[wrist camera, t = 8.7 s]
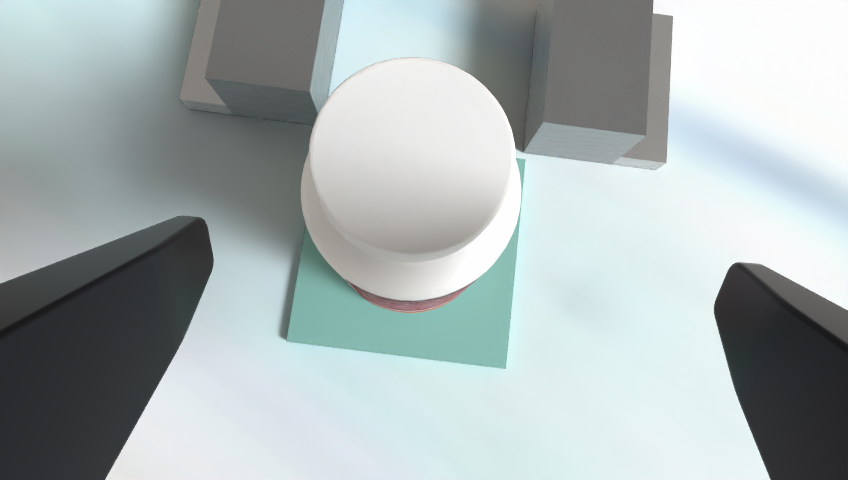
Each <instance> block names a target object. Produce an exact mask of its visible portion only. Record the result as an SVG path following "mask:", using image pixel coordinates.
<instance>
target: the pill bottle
mask: <svg viewBox="0 0 848 480" xmlns="http://www.w3.org/2000/svg"><path fill="white" fill-rule="evenodd" d="M520 203H521V181H520V173H519V169H518V164H517V161H516V153H515V143H514V138H513V133H512V129H511V127H510V124H509V122H508V119H507V116H506V114H505V113H504V111H503V109H502V107H501V106H500V104H499V103H498V101H497V100H496V98H495V97H494V96H493V95H492V94H491V92H490V91H489V90H488V89H487V88H486V87H485V86H484V85H483V84H482V83H481V82H479V81H478V80H477V79H476V78H474V77H473V76H471V75H470V74H468V73H467V72H465V71H463V70H461V69H459V68H457V67H455V66H453V65H450V64H447V63H444V62H441V61H437V60H433V59H428V58H418V57H404V58H395V59H390V60H385V61H382V62H379V63H375V64H372V65H370V66H368V67H366V68H363V69H362V70H360V71H358V72H357V73H355V74H353V75H352V76H350V77H349V78H348V79H346V80H345V81H344V82H343V83H341V84H340V85H339V86H338V87H337V88H336V89H335V90H334V91H333V93H332V94H331V95H330V96H329V98H328V99H327V100H326V102H325V103H324V105H323V106H322V108H321V110H320V112H319V114H318V116H317V118H316V121H315V124H314V126H313V129H312V133H311V137H310V143H309V152H308V155H307V158H306V161H305V165H304V168H303V173H302V179H301V204H302V211H303V216H304V219H305V223H306V226H307V229H308V231H309V233H310V236H311V238H312V240H313V242H314V244H315V245H316V247H317V249H318V250H319V252H320V253H321V255H322V256H323V257H324V258H325V260H326V261H327V262H328V264H329V265H330V266H331V267H332V268H333V269H334V270H335V271H336V272H337V273H338V274H339V275H340V276H341V277H342V278H343V279H344V280H345V281H346V282H347V283H348V284H349V285H350V286H351V287H352V288H353V289H354V290H355V291H356V292H357V293H359V294H360V295H361V296H362V297H363V298H364V299H366V300H367V301H369V302H370V303H372V304H374V305H376V306H378V307H381V308H384V309H387V310H391V311H395V312H401V313H418V312H425V311H429V310H433V309H436V308H439V307H441V306H443V305H445V304H447V303H449V302H450V301H452V300H453V299H455V298H456V297H457V296H459V295H460V294H461V293H462V292H463V291H464V290H465V289H466V288H468V287H469V286H470V285H471V284H472V283H474V282H475V281H476V280H477V279H478V278H479V277H480V276H482V275H483V274H484V273H485V272H486V271H487V270H488V269H489V268H490V267H491V266H492V265H493V264H494V263H495V261H496V260H497V259H498V257H499V256H500V255H501V253H502V252H503V250H504V249H505V247H506V246H507V244H508V242H509V240H510V238H511V236H512V234H513V231H514V229H515V226H516V224H517V220H518V216H519V212H520Z"/></svg>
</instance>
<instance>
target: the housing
mask: <svg viewBox="0 0 848 480" xmlns="http://www.w3.org/2000/svg"><path fill="white" fill-rule="evenodd" d="M343 3H344V0H200V5H199V9H198V14H197V19H196V23H195V28H194V32H193V37H192V41H191V46H190V51H189V55H188V60H187V64H186V69H185V74H184V78H183V83H182V87H181V92H180V97H179V100H180V101H181V102H182V103H183V104H184V105H185V106H186V107H187V108H188V109H193V110H201V111H208V112H216V113H224V114H231V115H239V116H247V117H254V118H262V119H270V120H277V121H285V122H292V123H300V124H308V125H314V124H315V121H316V118H317V116H318V114H319V112H320V110H321V108H322V106H323V105H324V103H325V102H326V100H327V99H328V93H329V87H330V81H331V75H332V69H333V63H334V57H335V51H336V45H337V39H338V33H339V27H340V21H341V15H342V9H343ZM672 25H673V16H668V15H661V14H654V13H653V0H541V2H540V5H539V7H538V9H537V13H536V24H535V34H534V45H533V56H532V66H531V77H530V87H529V98H528V108H527V119H526V130H525V140H524V151H523V153H529V154H537V155H545V156H552V157H560V158H568V159H575V160H583V161H591V162H598V163H606V164H613V165H621V166H629V167H636V168H644V169H652V170H656V169H658V168H659V167H661V166H662V165H664V164H666V158H667V136H668V114H669V92H670V69H671V47H672Z"/></svg>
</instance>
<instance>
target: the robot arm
mask: <svg viewBox="0 0 848 480" xmlns="http://www.w3.org/2000/svg"><path fill="white" fill-rule="evenodd" d="M213 262H214V261H213V252H212V247H211V242H210V237H209V232H208V227H207V224H206V222H205V220H203V219H202V218H200V217H191V216H177V217H175V218H172V219H169V220H167V221H164V222H161V223H159V224H156V225H154V226H151V227H148V228H146V229H143V230H140V231H138V232H135V233H133V234H130V235H127V236H125V237H122V238H119V239H117V240H114V241H112V242H109V243H106V244H104V245H101V246H98V247H96V248H93V249H90V250H88V251H85V252H83V253H80V254H77V255H75V256H72V257H69V258H67V259H64V260H62V261H59V262H56V263H54V264H51V265H48V266H46V267H43V268H40V269H38V270H35V271H33V272H30V273H27V274H25V275H22V276H19V277H17V278H14V279H12V280H9V281H6V282H4V283H1V284H0V480H105V479H106V477H107V475H108V473H109V472H110V470H111V468H112V466H113V465H114V463H115V461H116V459H117V457H118V456H119V454H120V452H121V450H122V448H123V447H124V445H125V443H126V441H127V440H128V438H129V436H130V434H131V432H132V431H133V429H134V427H135V425H136V423H137V422H138V420H139V418H140V416H141V415H142V413H143V411H144V409H145V407H146V406H147V404H148V402H149V400H150V398H151V397H152V395H153V393H154V391H155V390H156V388H157V386H158V384H159V382H160V381H161V379H162V377H163V375H164V373H165V372H166V370H167V368H168V366H169V365H170V363H171V361H172V359H173V357H174V356H175V354H176V352H177V350H178V348H179V346H180V344H181V343H182V341H183V339H184V336H185V334H186V332H187V330H188V327H189V325H190V323H191V320H192V318H193V315H194V313H195V311H196V308H197V306H198V303H199V301H200V298H201V296H202V294H203V291H204V289H205V286H206V284H207V281H208V279H209V277H210V274H211V272H212V268H213ZM714 315H715V319H716V323H717V327H718V330H719V334H720V338H721V341H722V345H723V349H724V352H725V356H726V360H727V363H728V367H729V371H730V375H731V378H732V382H733V385H734V388H735V391H736V394H737V397H738V400H739V402H740V405H741V408H742V410H743V412H744V415H745V417H746V420H747V422H748V425H749V427H750V430H751V432H752V435H753V437H754V440H755V442H756V445H757V447H758V450H759V452H760V455H761V457H762V460H763V462H764V465H765V467H766V470H767V472H768V474H769V477H770V479H771V480H848V310H846V309H844V308H842V307H840V306H838V305H836V304H835V303H833V302H831V301H829V300H827V299H825V298H823V297H821V296H820V295H818V294H816V293H814V292H812V291H810V290H808V289H807V288H805V287H803V286H801V285H799V284H797V283H795V282H793V281H792V280H790V279H788V278H786V277H784V276H782V275H780V274H778V273H777V272H775V271H773V270H771V269H769V268H767V267H765V266H763V265H761V264H753V263H741V262H738V263H735V264H733V265H732V266H731V267H730V268H729V270H728V272H727V274H726V277H725V279H724V281H723V284H722V286H721V288H720V291H719V293H718V295H717V298H716V301H715V304H714Z"/></svg>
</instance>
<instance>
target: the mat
mask: <svg viewBox="0 0 848 480" xmlns="http://www.w3.org/2000/svg"><path fill="white" fill-rule="evenodd" d="M516 161H517V164H518V169H519V173H520V181H521V200H522V190H523V179H524V168H525V159H517V158H516ZM520 211H521V203H520ZM519 222H520V212H519V216H518V220H517V224H516V226H515V229H514V231H513V234H512V236H511V238H510V240H509V242H508V244H507V246H506V247H505V249H504V250H503V252H502V253H501V255H500V256H499V257H498V259H497V260H496V261H495V263H494V264H493V265H492V266H491V267H490V268H489V269H488V270H487V271H486V272H485V273H484V274H483V275H482V276H480V277H479V278H478V279H477V280H476V281H475V282H474V283H472V284H471V285H470V286H469V287H468V288H466V289H465V290H464V291H463V292H462V293H461V294H460V295H459V296H457V297H456V298H455V299H453V300H452V301H450V302H449V303H447V304H445V305H443V306H441V307H439V308H436V309H433V310H429V311H425V312H418V313H401V312H395V311H391V310H387V309H384V308H381V307H378V306H376V305H374V304H372V303H370V302H369V301H367V300H366V299H364V298H363V297H362V296H361V295H360V294H359V293H357V292H356V291H355V290H354V289H353V288H352V287H351V286H350V285H349V284H348V283H347V282H346V281H345V280H344V279H343V278H342V277H341V276H340V275H339V274H338V273H337V272H336V271H335V270H334V269H333V268H332V267H331V266H330V265H329V264H328V262H327V261H326V260H325V258H324V257H323V256H322V255H321V253H320V252H319V250H318V249H317V247H316V245H315V244H314V242H313V240H312V238H311V236H310V233H309V231H308V229H307V226H305V232H304V238H303V244H302V250H301V256H300V262H299V268H298V274H297V280H296V286H295V292H294V298H293V304H292V311H291V317H290V323H289V329H288V335H287V341H286V342H294V343H302V344H311V345H319V346H327V347H335V348H343V349H351V350H359V351H367V352H375V353H383V354H391V355H399V356H407V357H415V358H423V359H431V360H439V361H447V362H455V363H463V364H471V365H479V366H487V367H495V368H503V369H506V360H507V350H508V339H509V328H510V318H511V307H512V296H513V286H514V275H515V264H516V254H517V243H518V232H519Z"/></svg>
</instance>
